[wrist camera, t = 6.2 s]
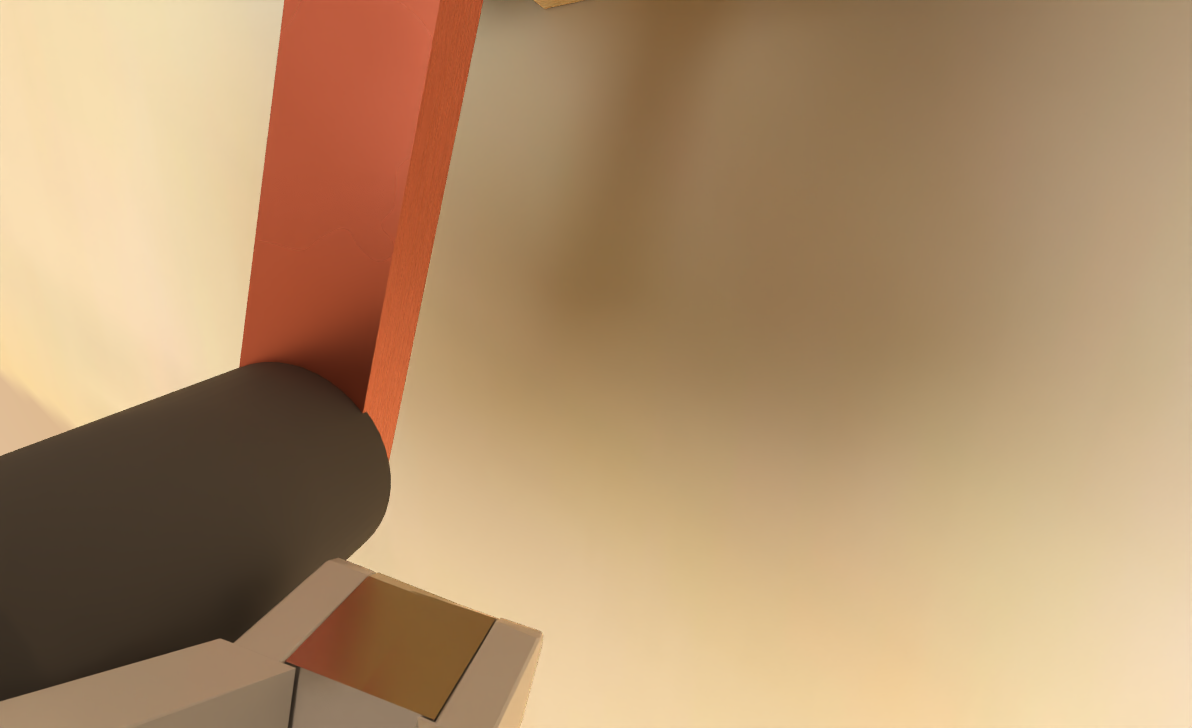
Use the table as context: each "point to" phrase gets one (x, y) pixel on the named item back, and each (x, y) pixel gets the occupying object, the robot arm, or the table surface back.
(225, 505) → the lever
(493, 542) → the table surface
